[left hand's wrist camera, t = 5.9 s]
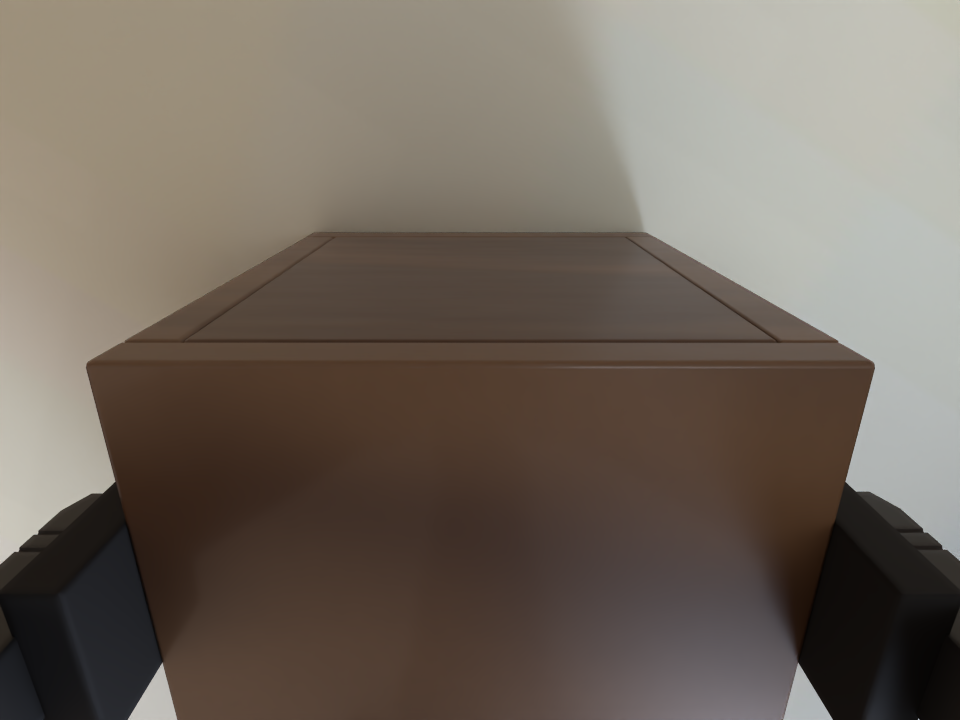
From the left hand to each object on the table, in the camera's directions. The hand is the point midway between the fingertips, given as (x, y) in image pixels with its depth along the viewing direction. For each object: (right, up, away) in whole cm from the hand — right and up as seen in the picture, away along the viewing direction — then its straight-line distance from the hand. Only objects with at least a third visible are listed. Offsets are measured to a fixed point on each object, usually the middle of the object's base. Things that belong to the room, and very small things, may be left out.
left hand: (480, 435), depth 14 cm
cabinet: (0, -3, +7) cm, 8 cm away
